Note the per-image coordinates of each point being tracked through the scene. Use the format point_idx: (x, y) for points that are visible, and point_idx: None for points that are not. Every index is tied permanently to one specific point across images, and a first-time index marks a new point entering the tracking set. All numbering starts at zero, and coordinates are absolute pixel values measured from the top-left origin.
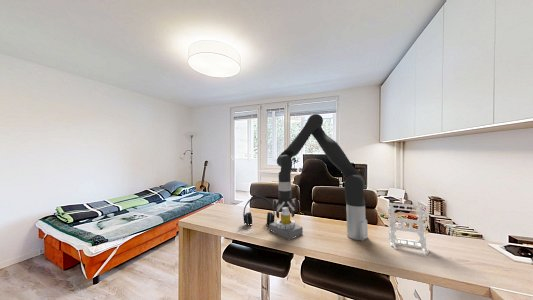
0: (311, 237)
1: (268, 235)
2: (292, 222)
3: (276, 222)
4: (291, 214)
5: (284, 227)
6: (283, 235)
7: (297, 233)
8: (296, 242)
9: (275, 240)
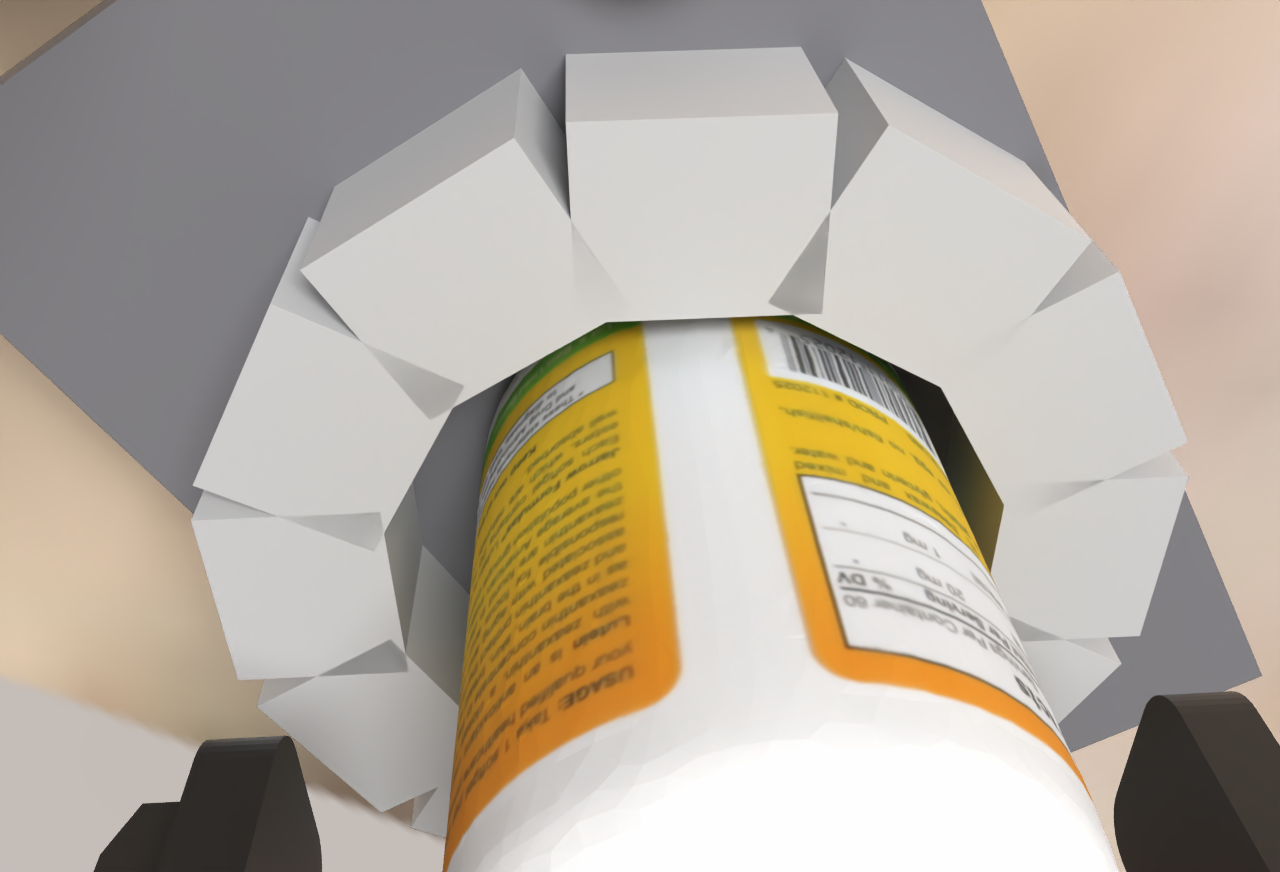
0: (1255, 687)
1: (19, 457)
2: None
3: (221, 594)
4: (1200, 782)
5: None
6: None
7: None
8: None
9: (263, 726)
